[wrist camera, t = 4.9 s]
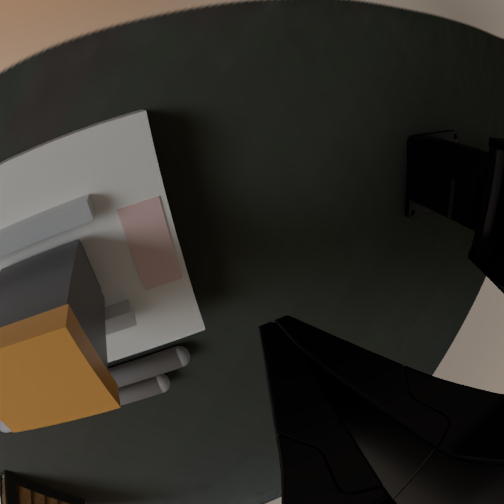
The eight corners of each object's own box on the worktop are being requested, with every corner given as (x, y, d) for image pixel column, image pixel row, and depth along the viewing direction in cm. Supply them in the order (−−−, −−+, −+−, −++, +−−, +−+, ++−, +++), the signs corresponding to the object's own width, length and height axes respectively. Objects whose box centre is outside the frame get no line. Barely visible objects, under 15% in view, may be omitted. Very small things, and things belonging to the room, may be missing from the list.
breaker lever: (81, 232, 12) (65, 326, 7) (110, 300, 13) (120, 407, 8) (-4, 266, 10) (-50, 364, 6) (30, 327, 12) (13, 432, 7)
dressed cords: (183, 338, 20) (189, 353, 19) (196, 369, 22) (202, 383, 21) (-20, 399, 16) (-23, 412, 14) (4, 423, 17) (2, 436, 16)
